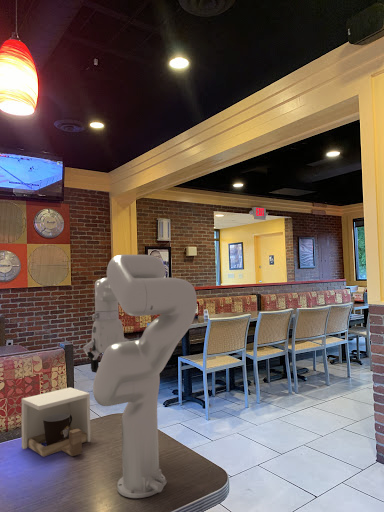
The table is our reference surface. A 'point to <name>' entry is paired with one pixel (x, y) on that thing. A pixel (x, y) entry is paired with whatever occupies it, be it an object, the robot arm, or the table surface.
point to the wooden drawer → (60, 443)
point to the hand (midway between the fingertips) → (108, 369)
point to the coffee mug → (56, 427)
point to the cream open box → (55, 411)
